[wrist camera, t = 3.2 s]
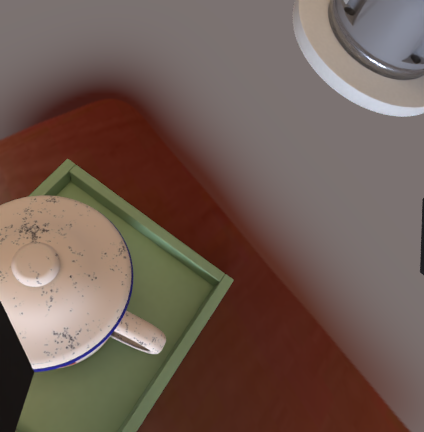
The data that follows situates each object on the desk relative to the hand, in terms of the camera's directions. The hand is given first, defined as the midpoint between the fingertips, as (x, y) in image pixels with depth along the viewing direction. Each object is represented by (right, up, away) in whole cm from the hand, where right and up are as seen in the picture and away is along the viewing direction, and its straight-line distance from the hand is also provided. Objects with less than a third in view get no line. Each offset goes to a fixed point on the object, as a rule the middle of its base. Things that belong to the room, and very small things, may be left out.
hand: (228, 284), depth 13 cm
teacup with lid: (-10, -5, +16) cm, 20 cm away
